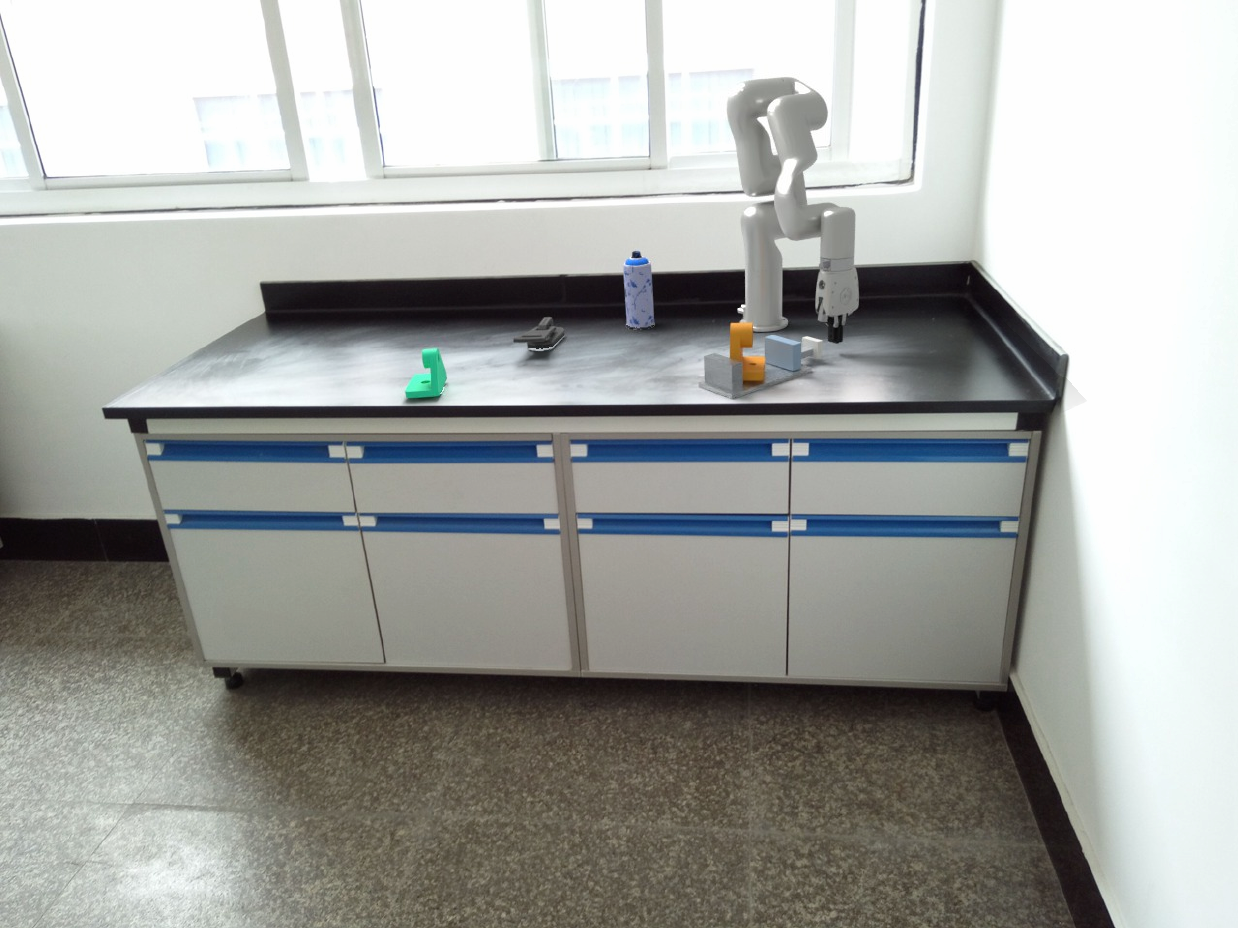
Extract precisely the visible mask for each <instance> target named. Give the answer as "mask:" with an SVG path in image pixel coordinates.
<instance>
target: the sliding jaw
mask: <svg viewBox="0 0 1238 928" xmlns="http://www.w3.org/2000/svg"><path fill="white" fill-rule="evenodd" d="M823 345H824V340H822V339H818V338H815V337H811V336H803V337H802V338H801V342H800V341H796V340H793V339H789V338H785V337H783V336H778V335H775V334H771V335H767V336H764V357H765V362H766V363H769V364H772V365H775V366H778V367H781V368H784V369H788V370H791V371H795V370H798V369H801V364H802V360H803V359H805V358H809V357H810V358H814V359H818V360H819V359H822V358H823V350H824V349H823Z"/></svg>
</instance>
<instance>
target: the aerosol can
mask: <svg viewBox="0 0 1238 928" xmlns="http://www.w3.org/2000/svg"><path fill="white" fill-rule="evenodd" d="M622 267H623V268H622V270H623V284H624V298H625V299H624V302H625V315H626V324H625V326H626V325H628V326H630V327H635V328H636V327H637V328H640V327H648V326H651V325H654V326H655V325H656V323H655V318H654V317H655V316H654V313H655V312H654V296H653V295H654V294H653V277H652V275H653V274H652V264H651V261H650V260H649V259H648V258H646V257H645V256H643V255H642V253H641V252H640V251H639V250H634V251H633V250H632V252H631V256H630V257H628V258H627V259H626V260H625V261H624V263H623V266H622Z"/></svg>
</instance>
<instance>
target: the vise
mask: <svg viewBox="0 0 1238 928" xmlns="http://www.w3.org/2000/svg"><path fill="white" fill-rule="evenodd" d="M703 359H704V360H703V367H704V380H701V381H699V382H698V388H701V387H702V389H704V390H706V391H709V390H710V392H712V393H715V394H717V393H718V395H720V394H721V396H723V395H724V397H725V396H727V397H726V398H728V397H730V398H734V399H736V398H735V397H737V398H739V397H742V396H745V395H748V394H751V393H753V392H757V391H761V390H763V389H766V388H769V387H771V386H774V385H777V384H780V383H783V382H786V381H789V380H793V379H795V378H798V377H801V376H804V375H806V374H810V373H812V372H813V367H811V366H807V365H804V364H802V363H801V369H798V370H795V371H791V370H788V369H784V368H781V367H778V366H775V365H772V364H769V363H766V362H765V375H764V380H743V362H741V361H738V360H734V359H731V358H730V357H729V356H725V355H722V354H718V353H716V352H713V353H711V354H706V355H703ZM730 398H729V399H730Z"/></svg>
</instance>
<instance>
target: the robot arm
mask: <svg viewBox="0 0 1238 928" xmlns="http://www.w3.org/2000/svg"><path fill="white" fill-rule="evenodd" d="M828 114H829V110H828V106H827V103H826V101H825V99H824V98H823V96H822V95H821V94H820V93H819V92H818V91H816V90H815V89H814V88H812V87H810V86H808V85H807V84H806V83H804V82H802V81H800V80H799V79H797V78H794V77H791V76H783V77H782V76H781V77H771V78H759V79H758V78H757V79H751V80H746V81H743V82H740V83H737V84H736V85H734V86H733V88H731V90H730V92H729V93H728V96H727V101H726V115H727V122H728V124H729V128H730V131H731V134H732V136H733V139H734V142H735V148H736V159H737V164H738V171H739V178H740V183H741V184H740V185H741V187H742V191H743V193H744V195H746V196H748V197H749V198H761V197H768V196H769V197H770V196H773V200H768V201H763V202H761V201H760V202H757V203H754V204H751V205H749V206H748V207H746V208H745V209H744V210H743V212H742V214H741V217H740V227H741V228H740V229H741V234H742V239H743V245H744V246H743V248H744V249H743V250H744V271H745V272H744V277H745V279H744V284H745V285H744V287H745V295H744V296H745V297H744V299H745V303H744V304H741V306H740V307H739V308H737V313H738V314H741V315H742V318H741V320H739V323H753V332H757V333H758V332H759V333H760V332H761V333H764V332H775V331H780V330H782V329H785V328H787V326H788V325H789V320H788V318H786V317H784V316H783V256H782V253H781V250H780V249H779V248H778V245H777V244H776V242H775V241H777V240H780V239H788V240H790V241H794V242H797V241H804V240H810V239H811V240H812V239H817V238H820V249H819V251H820V254H819V255H820V257H819V258H820V259H819V264H818V267H819V271H818V275H817V280H816V281H817V282H816V289H815V290H816V291H815V313H816V314H817V321H818V322H823V323H825V325H826V326H827V342H828V343H832V344H837V345H838V344H842V343H843V342H844V326H845V324H846V323H847V321H846V320H847V318H848V317H849V316H850V315H852V314H853V313H854V311H856V310H857V309H858V308H859V302H860V301H859V300H860V299H859V298H860V292H859V279H858V278H859V277H858V272H857V268H856V267H855V245H856V242H855V241H856V240H855V239H856V212H855V210H854V209H853V208H852V207H848V206H839V205H837V204H835V203H834V202H833V203H832V202H822V203H821V202H820V203H812V204H808V199H807V198H808V197H807V191H806V183H805V176H804V172H805V171H806V170H808V169H810V167H812V166H813V165H814V164H815V163H816V162H817V160H818V151H817V148H816V145H815V141H814V139H813V136H812V131H818V130H820V129H822V128H824V126H825V125H826V123H827V120H828V117H829V115H828ZM763 117H766V119H767V122H768V126H769V130H770V133H771V135H772V136H770V135H769V133H768V130H767V129H766V128H765V126H764V125H763V124H762V122H760V121H759V119H758V118H763ZM770 137H772V140H773V143H774V146H775V149H776V152H777V154H774V153H773V151H772V150H773V149H772V144H771V143H772V142H771V138H770Z"/></svg>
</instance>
